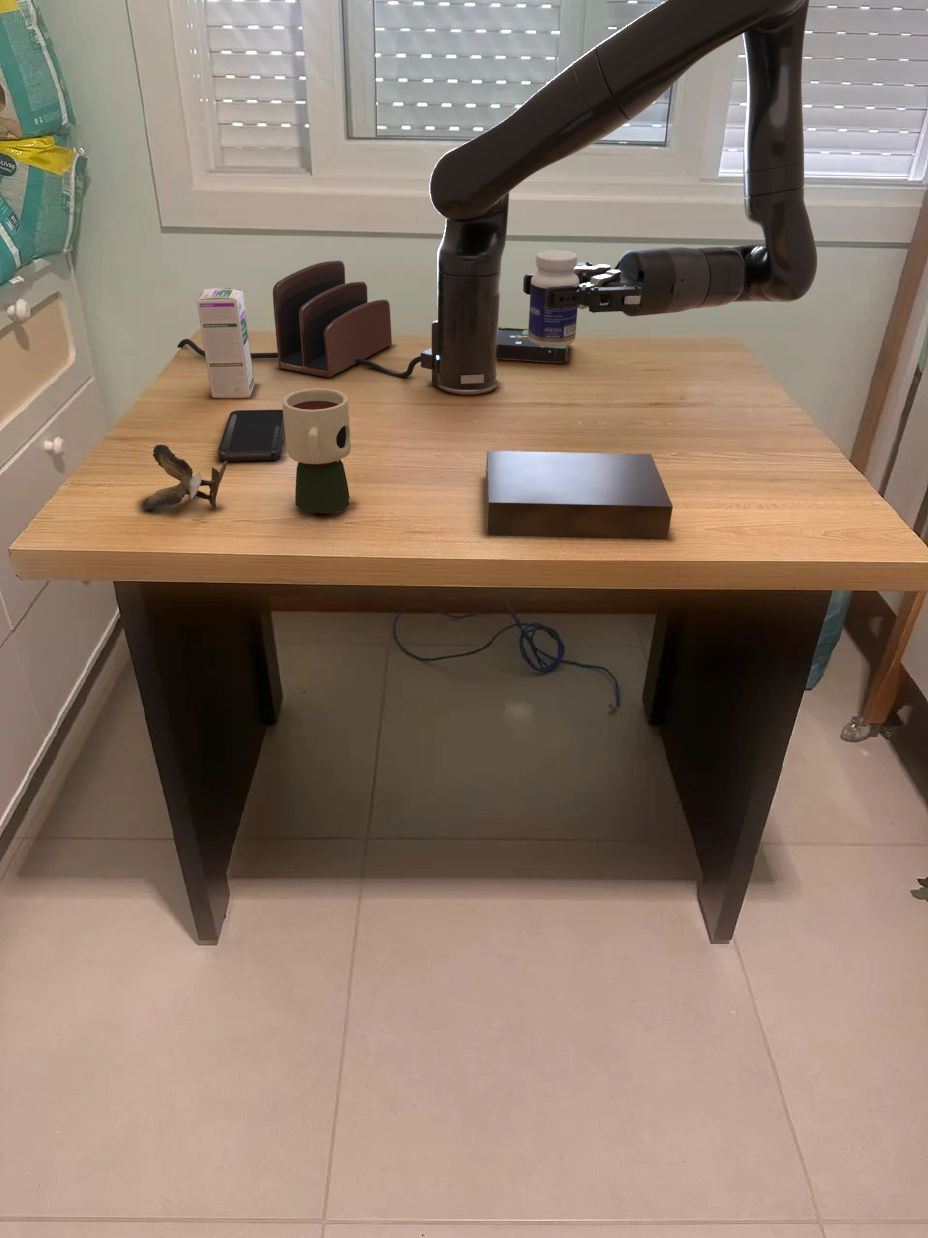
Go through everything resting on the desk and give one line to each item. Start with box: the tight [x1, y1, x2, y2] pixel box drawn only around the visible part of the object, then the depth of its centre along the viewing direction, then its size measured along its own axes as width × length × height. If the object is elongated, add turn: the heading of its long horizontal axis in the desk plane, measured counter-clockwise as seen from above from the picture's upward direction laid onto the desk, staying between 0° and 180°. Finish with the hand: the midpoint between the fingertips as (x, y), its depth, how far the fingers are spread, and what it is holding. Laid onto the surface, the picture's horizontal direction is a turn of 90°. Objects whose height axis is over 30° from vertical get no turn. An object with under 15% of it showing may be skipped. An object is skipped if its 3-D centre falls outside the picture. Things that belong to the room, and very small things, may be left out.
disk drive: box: [497, 326, 570, 364], centre depth 152 cm, size 10×3×15 cm
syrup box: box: [196, 287, 256, 399], centre depth 129 cm, size 6×6×14 cm
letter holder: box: [272, 260, 393, 379], centre depth 144 cm, size 10×20×14 cm, turn 154°
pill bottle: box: [527, 249, 579, 347], centre depth 104 cm, size 6×6×10 cm
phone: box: [217, 409, 285, 463], centre depth 118 cm, size 8×1×15 cm
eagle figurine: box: [141, 444, 228, 510], centre depth 101 cm, size 8×7×9 cm
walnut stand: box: [485, 450, 674, 540], centre depth 103 cm, size 20×14×4 cm
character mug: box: [281, 387, 352, 515], centre depth 99 cm, size 11×7×13 cm, turn 4°
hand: (535, 291), depth 103 cm, fingers closed on pill bottle, 5 cm apart
